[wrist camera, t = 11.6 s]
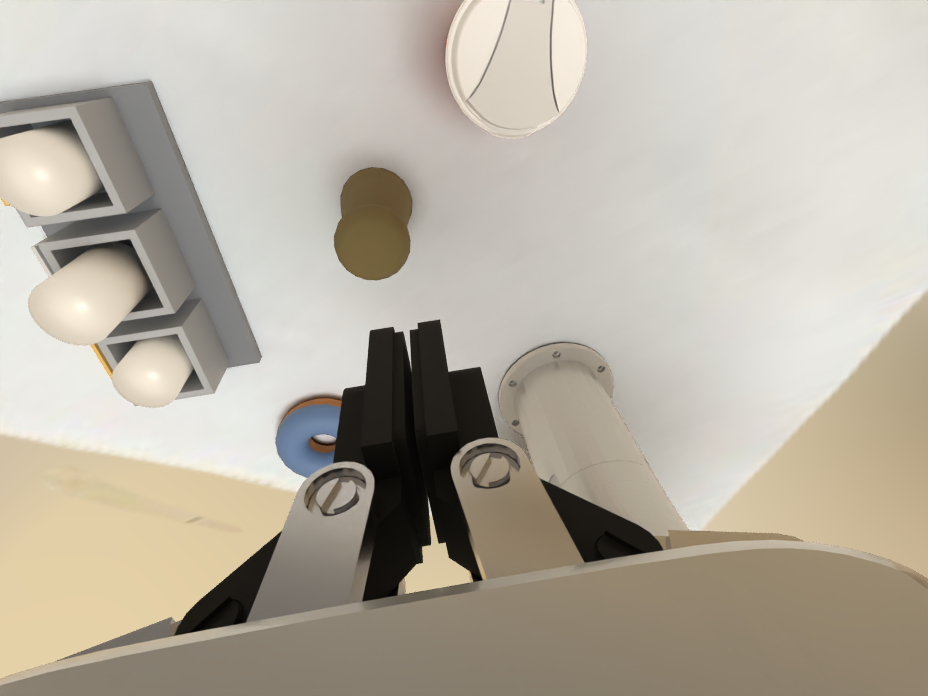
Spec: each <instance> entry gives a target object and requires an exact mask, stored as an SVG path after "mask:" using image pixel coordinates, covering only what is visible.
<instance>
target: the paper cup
mask: <svg viewBox="0 0 928 696" xmlns="http://www.w3.org/2000/svg"><path fill="white" fill-rule="evenodd" d="M586 60H587V37H586V30H585V26H584V22H583V18H582V16H581V14H580V11H579V9H578V7H577V5H576V3H575V2H574V0H464V2H463V3H462V5H461V6H460V8H459V9H458V11H457V13H456V15H455V17H454V19H453V21H452V24H451V27H450V30H449V33H448V36H447V40H446V46H445V63H446V73H447V78H448V82H449V86H450V89H451V91H452V94H453V96H454V98H455V100H456V102H457V103H458V105H459V107H460V108H461V110H462V111H463V112H464V113H465V115H466V116H467V117H468V118H469V119H470V120H472V121H473V122H474V123H475V124H476V125H478V126H479V127H481V128H483V129H484V130H486V131H487V132H488V133H490V134H491V135H493V136H495V137H499V138H504V139H518V138H525V137H527V136H528V135H530V134H532V133H534V132H536V131H538V130H540V129H542V128H544V127H546V126H547V125H549V124H550V123H552V122H553V121H554V120H556V119H557V118H558V117H559V116H560V115H561V114H562V113H563V112H564V111H565V109H566V108H567V107H568V106H569V104H570V103H571V101H572V100H573V98H574V96H575V95H576V93H577V91H578V88H579V86H580V84H581V81H582V78H583V75H584V71H585V66H586Z"/></svg>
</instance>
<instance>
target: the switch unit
mask: <svg viewBox="0 0 928 696" xmlns="http://www.w3.org/2000/svg"><path fill="white" fill-rule="evenodd" d="M67 120H71V121H72V123H73V125H74V127H75V129H76V131H77V133H78V135H79V137H80V139H81V141H82V143H83V145H84V147H85V149H86V151H87V153H88V155H89V157H90V159H91V161H92V163H93V165H94V167H95V169H96V171H97V173H98V175H99V177H100V179H101V181H102V183H103V185H104V187H105V189H104V190H102V191H100V192H98V193H96V194H94V195H93V196H91V197H89V198H87V199H85V200H83V201H82V202H80V203H78V204H76V205H74V206H72V207H71V208H69V209H67V210H65V211H63V212H61V213H59V214H57V215H53V216H46V217H43V216H34V215H30V214H27V213H24V212H22V211H20V210H17V209H16V210H17V212H18V213H19V215H20V217H21V218H22V220H23V222H24V223H25V225H26V227H34V226H41V227H42V228H43V230H44V232H45V234H46V235H47V238H46V239H44V240H42V241H41V242H39V243H37V244H36V245H34V246H32V247H31V249H32V250H33V252H34V254H35V255H36V257H37V259H38V260H39V262H40V264H41V265H42V267H43V268H44V270H45V272H46V273H47V275H48V277H50V276H52V275H53V274H55V273H56V272H57V271H59V270H60V269H62V268H63V267H64V266H66V265H67V264H69V263H70V262H71V261H73V260H74V259H76V258H77V257H78V256H80V255H81V254H83V253H84V252H85V251H87V250H88V249H90V248H91V247H93V246H94V245H96V244H99V243H106V242H119V243H123V244H126V245H129V246H131V247H133V248H134V249H135V250H136V252H137V254H138V256H139V258H140V260H141V262H142V264H143V266H144V268H145V270H146V272H147V274H148V276H149V278H150V280H151V282H152V284H153V287H152V289H151V290H150V291H149V292H148V293H147V295H146V296H145V297H144V298H143V299H142V300H141V301H140V302H139V303H138V304H137V305H136V306H135V307H134V308H133V309H132V310H131V311H130V313H129V314H128V315H127V316H126V317H125V318H124V319H123V320H122V321H121V322H120V323H119V324H118V325H117V326H116V327H115V328H114V330H113V331H112V332H111V333H110V334H109V335H108V336H107V337H106V338H105V339H103V340H102V341H100V342H98V343H95V344H91V347H92V348H93V350H94V352H95V353H96V355H97V357H98V358H99V360H100V361H101V363H102V365H103V366H104V368H105V370H106V371H107V373H108V374H109V376H110V378H111V379H112V373H113V370H114V369H115V367H116V366H117V365H118V364H119V362H120V361H121V360H122V359H123V358H124V356H125V355H126V354H127V353H128V352H129V350H130V349H131V348H132V347H133V346H134V344H135V343H136V342H137V341H138V340H141V339H148V338H154V337H161V336H167V335H173V334H177V335H178V337H179V339H180V341H181V343H182V345H183V347H184V349H185V351H186V353H187V355H188V357H189V359H190V361H191V363H192V365H193V367H194V369H193V370H192V372H191V374H190V375H189V377H188V379H187V381H186V382H185V384H184V386H183V387H182V389H181V391H180V392H179V394H178V396H177V397H176V399H175V400H177V399H183V398H189V397H195V396H202V395H208V394H214V393H215V391H216V389H217V387H218V385H219V383H220V381H221V379H222V377H223V375H224V373H225V371H226V369H227V368H228V367H235V366H241V365H247V364H254V363H259V362H260V360H261V357H262V356H261V354H260V351H259V349H258V346H257V344H256V341H255V339H254V336H253V334H252V331H251V329H250V326H249V324H248V321H247V319H246V316H245V314H244V311H243V309H242V306H241V304H240V301H239V299H238V296H237V294H236V291H235V289H234V286H233V284H232V281H231V279H230V276H229V274H228V271H227V269H226V266H225V264H224V261H223V259H222V256H221V254H220V251H219V249H218V246H217V244H216V241H215V239H214V236H213V234H212V231H211V229H210V226H209V224H208V221H207V219H206V216H205V214H204V211H203V209H202V206H201V204H200V201H199V199H198V196H197V194H196V191H195V189H194V186H193V184H192V181H191V179H190V176H189V174H188V171H187V169H186V166H185V164H184V161H183V159H182V156H181V154H180V151H179V149H178V146H177V144H176V141H175V139H174V136H173V134H172V131H171V129H170V126H169V124H168V121H167V119H166V116H165V114H164V111H163V109H162V106H161V104H160V101H159V99H158V96H157V93H156V91H155V88H154V86H153V83H152V82H146V83H138V84H131V85H123V86H116V87H109V88H101V89H94V90H87V91H79V92H72V93H64V94H57V95H50V96H42V97H35V98H28V99H20V100H13V101H5V102H0V138H3V137H7V136H11V135H15V134H18V133H22V132H26V131H29V130H33V129H37V128H40V127H44V126H48V125H52V124H55V123H59V122H63V121H67ZM1 200H2V202H3V203H4V205H5V206H10V205H9V204H8V203H6V202H5V201H4V200H3V199H1ZM133 404H134V403H133ZM134 406H139V405H136V404H134Z"/></svg>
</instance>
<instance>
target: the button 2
mask: <svg viewBox="0 0 928 696" xmlns="http://www.w3.org/2000/svg"><path fill="white" fill-rule="evenodd" d="M193 369H194V367H193V365H192V363H191V361H190V359H189V357H188V355H187V353H186V351H185V349H184V347H183V345H182V343H181V341H180V339H179V337H178V335H177V334H173V335H167V336H161V337H154V338H148V339H141V340H138V341H137V342H136V343H135V344H134V346H133V347H132V348H131V349H130V350H129V352H128V353H127V354H126V355H125V356H124V358H123V359H122V360H121V361H120V362H119V364H118V365H117V366H116V367H115V369H114V370H113V373H112V382H113V385H114V387H115V389H116V390H117V392H118V393H119V394H120V395H121V396H122V397H123V398H125V399H126V400H128V401H129V402H131V403H134V404H136V405H139V406H143V407H150V408H156V407H162V406H166V405H168V404H170V403H171V402H173V401H174V400H175V399H176V397H177V396H178V394H179V392H180V391H181V389H182V387H183V386H184V384H185V382H186V381H187V379H188V377H189V375H190V374H191V372H192V370H193Z"/></svg>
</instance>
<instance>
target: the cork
mask: <svg viewBox="0 0 928 696" xmlns="http://www.w3.org/2000/svg"><path fill="white" fill-rule="evenodd" d="M341 213H342V219H341V220H340V221H339V223H338V226H337V229H336V232H335V235H334V248H335V250H336V253H337V256H338V259H339V261H340V262H341V263H342V265H343V266H344V267H345V268H346V270H348V271H349V272H351V273H352V274H353V275H355V276H357V277H360V278H363V279H366V280H381V279H385V278H388V277H390V276H392V275H393V274H395V273H397V272H398V271H399V270H400V268H401V267H402V266H403V265H404V264H405V262H406V260H407V258H408V255H409V253H410V236H409V232H408V229H407V224H408V221H409V219H410V216H411V213H412V198H411V194H410V191H409V189H408V187H407V186H406V184H405V183H404V181H403V180H402V179H401V178H399V177H398V176H397V175H396V174H395V173H393V172H391V171H388V170H386V169H383V168H372V167H371V168H367V169H363V170H360V171H358V172H357V173H355V174H354V175H352V176H351V177H350V178H349V179H348V181H347V182H346V183H345V185H344V187H343V190H342V193H341Z"/></svg>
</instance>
